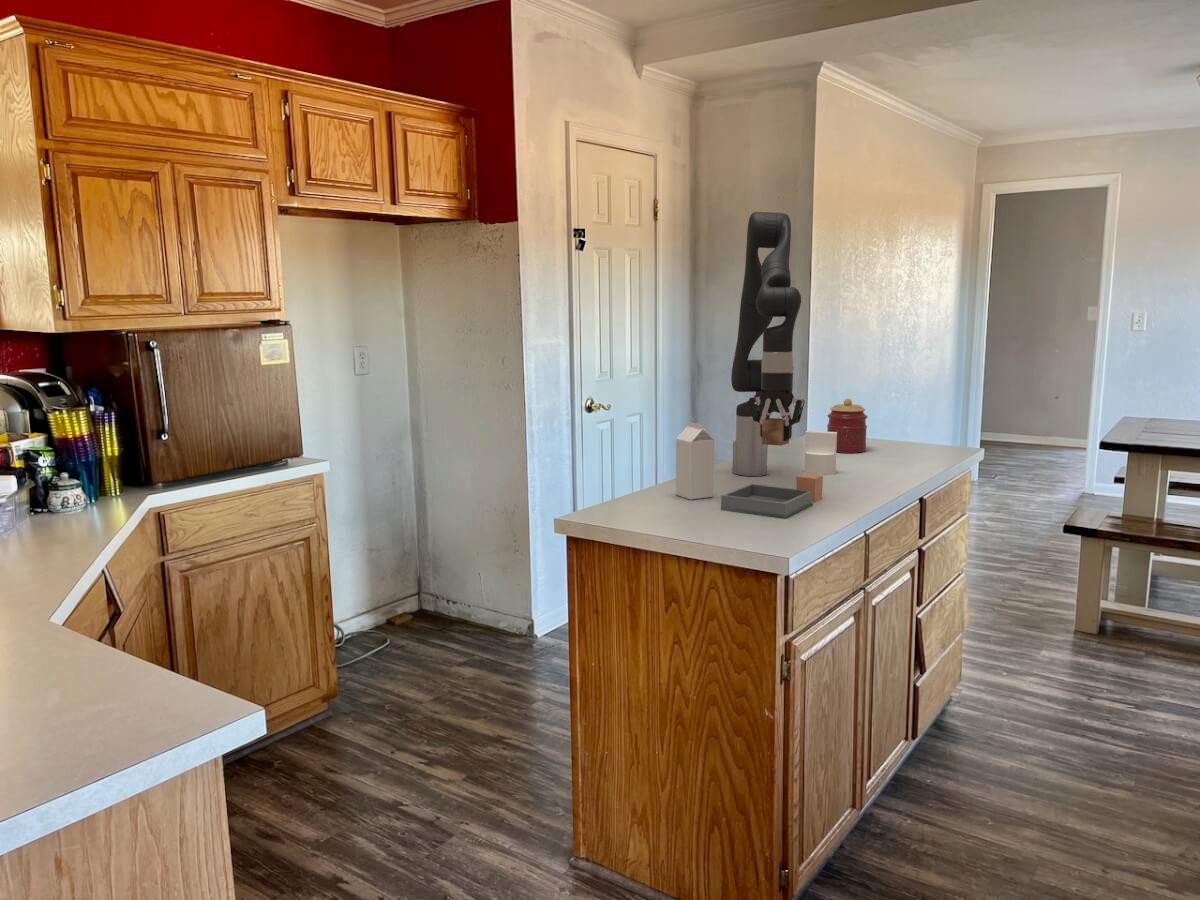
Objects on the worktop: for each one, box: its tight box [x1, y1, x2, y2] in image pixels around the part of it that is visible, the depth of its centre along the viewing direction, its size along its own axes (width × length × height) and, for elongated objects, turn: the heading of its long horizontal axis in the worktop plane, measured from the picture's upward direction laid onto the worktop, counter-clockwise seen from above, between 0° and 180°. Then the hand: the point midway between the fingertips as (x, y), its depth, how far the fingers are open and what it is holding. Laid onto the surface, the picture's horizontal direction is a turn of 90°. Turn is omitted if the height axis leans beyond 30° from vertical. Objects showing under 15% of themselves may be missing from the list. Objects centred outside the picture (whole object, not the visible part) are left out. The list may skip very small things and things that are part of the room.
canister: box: [826, 398, 868, 454], centre depth 296 cm, size 13×13×18 cm
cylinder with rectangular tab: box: [803, 430, 837, 476], centre depth 259 cm, size 9×9×12 cm
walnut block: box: [762, 417, 790, 447], centre depth 216 cm, size 5×5×6 cm
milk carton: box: [675, 421, 715, 500], centre depth 227 cm, size 7×7×19 cm
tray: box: [720, 483, 813, 519], centre depth 215 cm, size 17×17×4 cm
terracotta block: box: [795, 473, 824, 503], centre depth 224 cm, size 5×5×6 cm
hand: (775, 439), depth 217 cm, fingers closed on walnut block, 5 cm apart
